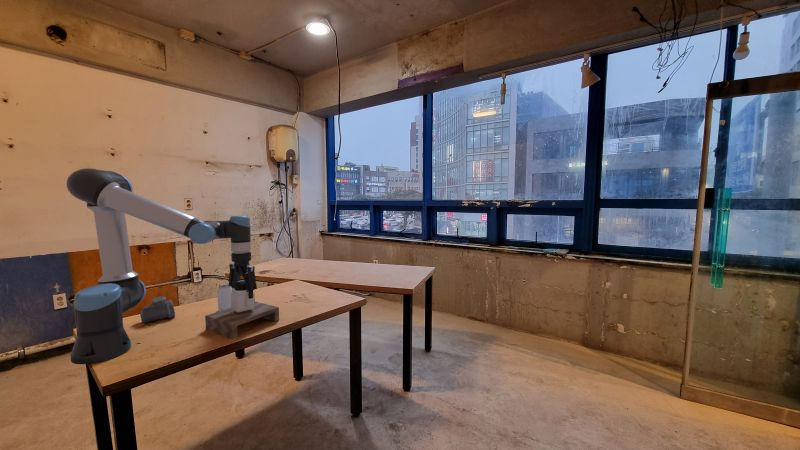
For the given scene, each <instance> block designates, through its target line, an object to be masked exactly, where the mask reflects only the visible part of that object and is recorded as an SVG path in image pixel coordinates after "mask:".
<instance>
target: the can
mask: <svg viewBox="0 0 800 450" xmlns="http://www.w3.org/2000/svg"><path fill="white" fill-rule="evenodd" d="M216 293H217V312H219V311H222V310H225V309H228V308H231V293H232V288H231V286H229V284H225V285H220V286H218V288H217V292H216Z"/></svg>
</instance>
